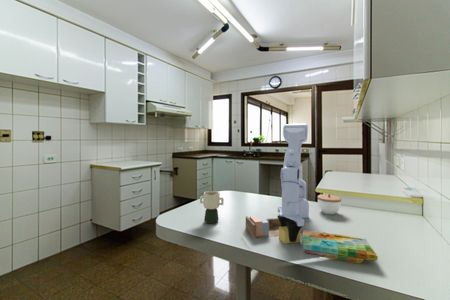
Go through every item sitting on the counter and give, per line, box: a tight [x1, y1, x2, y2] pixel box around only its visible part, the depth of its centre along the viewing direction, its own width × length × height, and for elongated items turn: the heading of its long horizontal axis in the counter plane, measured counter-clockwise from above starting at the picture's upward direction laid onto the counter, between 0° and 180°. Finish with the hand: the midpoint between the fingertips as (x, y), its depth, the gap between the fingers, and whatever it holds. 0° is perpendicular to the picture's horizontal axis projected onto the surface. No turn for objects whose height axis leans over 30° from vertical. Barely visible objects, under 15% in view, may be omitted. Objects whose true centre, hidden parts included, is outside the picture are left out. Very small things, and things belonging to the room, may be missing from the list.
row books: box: [249, 215, 269, 237], centre depth 83 cm, size 5×6×6 cm
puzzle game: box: [301, 229, 379, 264], centre depth 71 cm, size 12×5×20 cm
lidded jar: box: [317, 193, 342, 215], centre depth 109 cm, size 11×11×9 cm
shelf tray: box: [245, 216, 302, 239], centre depth 85 cm, size 21×9×6 cm, turn 103°
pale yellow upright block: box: [278, 226, 301, 245], centre depth 77 cm, size 4×6×5 cm, turn 103°
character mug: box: [199, 190, 225, 224], centre depth 95 cm, size 11×7×13 cm, turn 75°
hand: (289, 238), depth 77 cm, fingers closed on pale yellow upright block, 4 cm apart
